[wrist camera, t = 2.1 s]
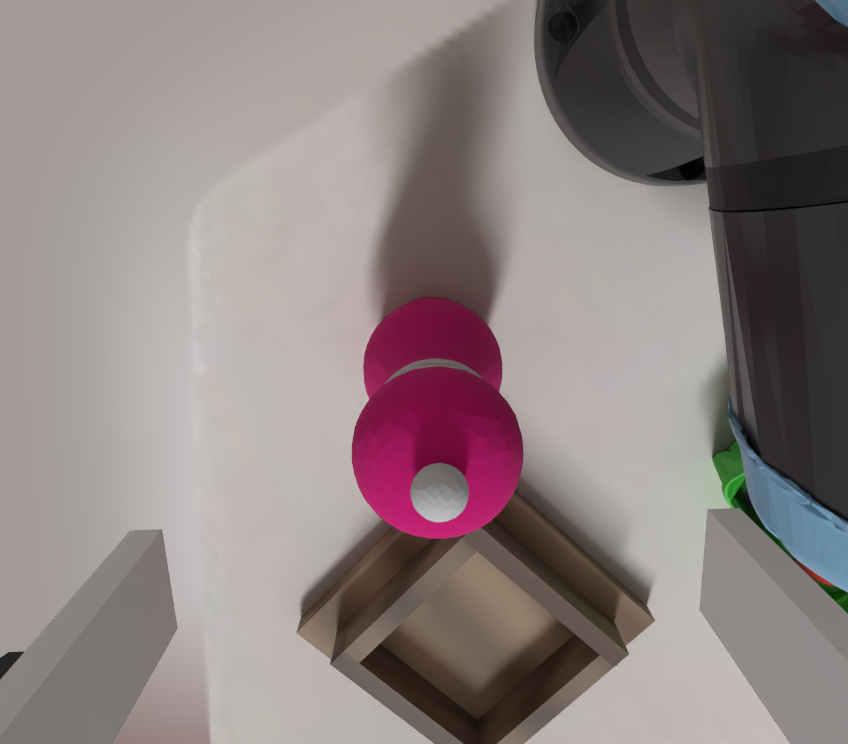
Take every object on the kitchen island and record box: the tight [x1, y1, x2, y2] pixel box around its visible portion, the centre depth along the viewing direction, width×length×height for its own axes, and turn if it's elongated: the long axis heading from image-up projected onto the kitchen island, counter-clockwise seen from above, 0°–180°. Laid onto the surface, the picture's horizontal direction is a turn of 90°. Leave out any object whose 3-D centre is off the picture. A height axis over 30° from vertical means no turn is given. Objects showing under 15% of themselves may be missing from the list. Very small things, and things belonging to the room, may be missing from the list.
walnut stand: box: [297, 490, 655, 744], centre depth 41 cm, size 16×16×4 cm
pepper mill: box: [352, 297, 523, 539], centre depth 29 cm, size 7×7×20 cm
